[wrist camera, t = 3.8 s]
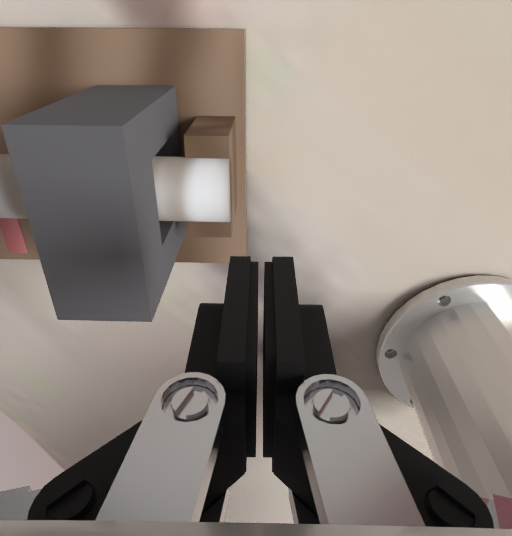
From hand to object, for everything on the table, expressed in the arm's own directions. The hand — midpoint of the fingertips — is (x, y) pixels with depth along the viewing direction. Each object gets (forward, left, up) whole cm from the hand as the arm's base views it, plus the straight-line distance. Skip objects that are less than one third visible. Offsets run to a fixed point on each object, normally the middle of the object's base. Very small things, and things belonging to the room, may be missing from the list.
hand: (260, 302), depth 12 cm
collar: (+7, 0, -14) cm, 15 cm away
